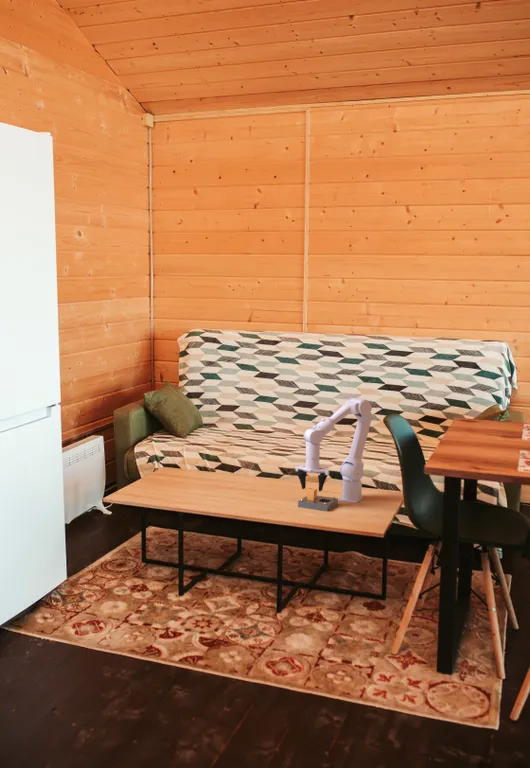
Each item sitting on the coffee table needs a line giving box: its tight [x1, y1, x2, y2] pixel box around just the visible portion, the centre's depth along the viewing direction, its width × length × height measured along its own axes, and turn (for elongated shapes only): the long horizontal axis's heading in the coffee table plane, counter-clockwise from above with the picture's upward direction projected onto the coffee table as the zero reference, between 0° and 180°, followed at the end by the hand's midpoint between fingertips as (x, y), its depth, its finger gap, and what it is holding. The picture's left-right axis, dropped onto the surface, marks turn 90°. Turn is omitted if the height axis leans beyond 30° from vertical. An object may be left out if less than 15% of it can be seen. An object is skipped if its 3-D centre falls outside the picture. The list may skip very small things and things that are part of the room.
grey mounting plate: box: [297, 495, 339, 512], centre depth 323 cm, size 12×13×3 cm
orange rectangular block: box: [306, 487, 318, 501], centre depth 324 cm, size 3×3×6 cm
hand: (312, 489), depth 324 cm, fingers open, 7 cm apart
